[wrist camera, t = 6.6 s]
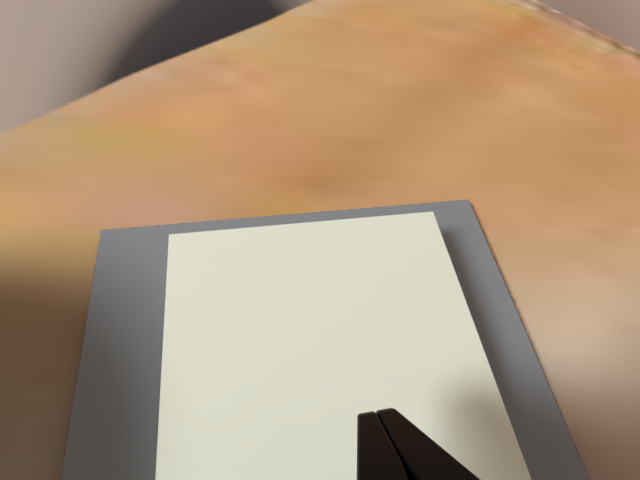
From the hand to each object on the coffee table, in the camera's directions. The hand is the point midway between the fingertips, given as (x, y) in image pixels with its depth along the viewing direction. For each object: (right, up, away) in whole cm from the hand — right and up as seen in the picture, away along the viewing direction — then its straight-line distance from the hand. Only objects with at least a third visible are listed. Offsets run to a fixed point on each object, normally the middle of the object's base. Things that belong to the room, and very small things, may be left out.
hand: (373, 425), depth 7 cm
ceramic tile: (0, -7, +3) cm, 7 cm away
